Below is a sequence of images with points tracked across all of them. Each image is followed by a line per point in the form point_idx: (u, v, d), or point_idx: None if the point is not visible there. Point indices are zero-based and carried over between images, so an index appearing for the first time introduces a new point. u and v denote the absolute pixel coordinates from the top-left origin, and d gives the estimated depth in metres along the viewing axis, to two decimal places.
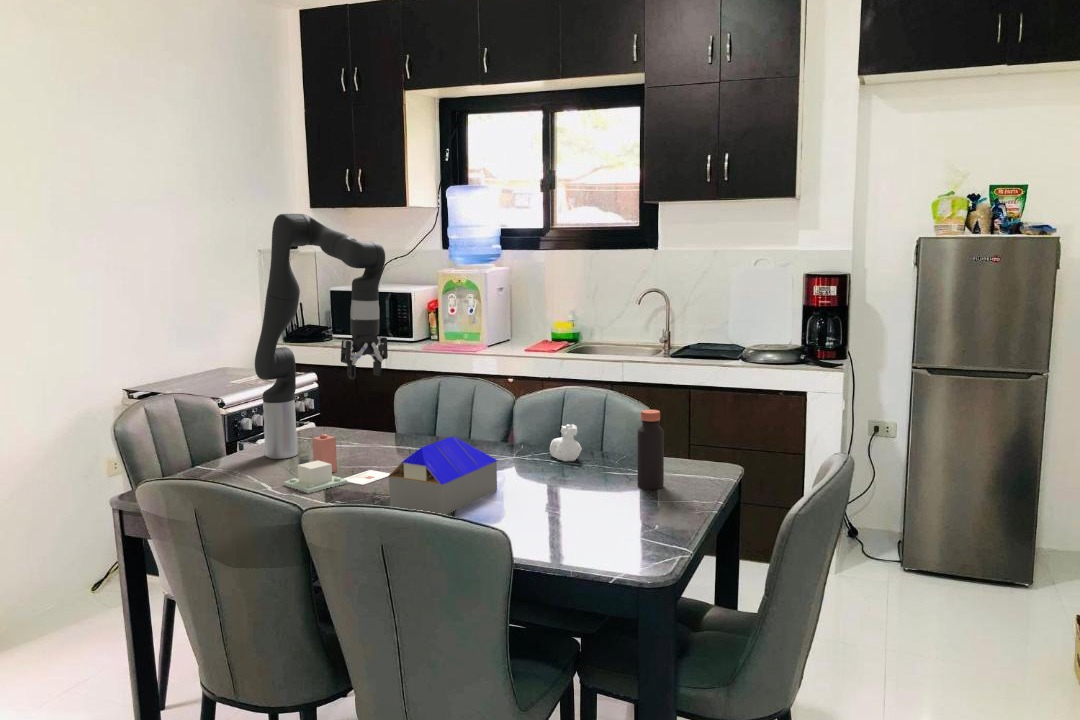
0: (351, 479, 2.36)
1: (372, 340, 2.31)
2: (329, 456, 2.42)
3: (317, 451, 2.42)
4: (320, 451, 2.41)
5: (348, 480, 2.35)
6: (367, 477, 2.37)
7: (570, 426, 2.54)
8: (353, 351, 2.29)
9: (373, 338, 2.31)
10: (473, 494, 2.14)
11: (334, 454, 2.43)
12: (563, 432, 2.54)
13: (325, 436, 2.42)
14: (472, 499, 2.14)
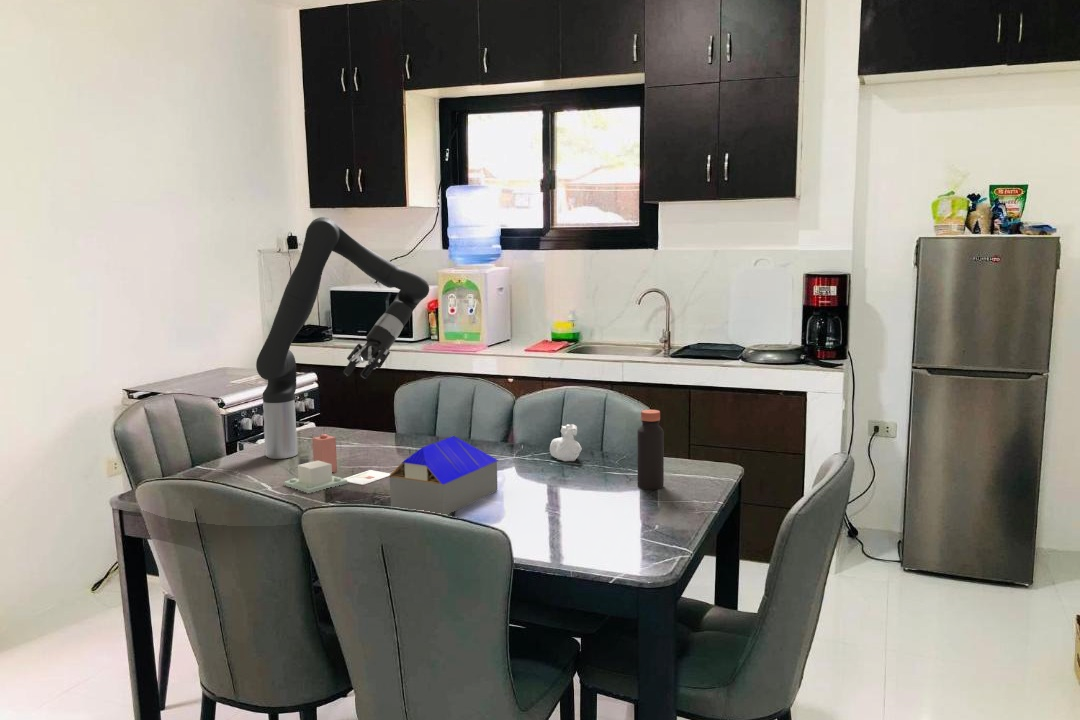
0: (351, 479, 2.36)
1: None
2: (329, 456, 2.42)
3: (317, 451, 2.42)
4: (320, 451, 2.41)
5: (348, 480, 2.35)
6: (367, 477, 2.37)
7: (570, 426, 2.54)
8: None
9: None
10: (474, 494, 2.14)
11: (334, 454, 2.43)
12: (563, 432, 2.54)
13: (325, 436, 2.42)
14: (473, 499, 2.14)
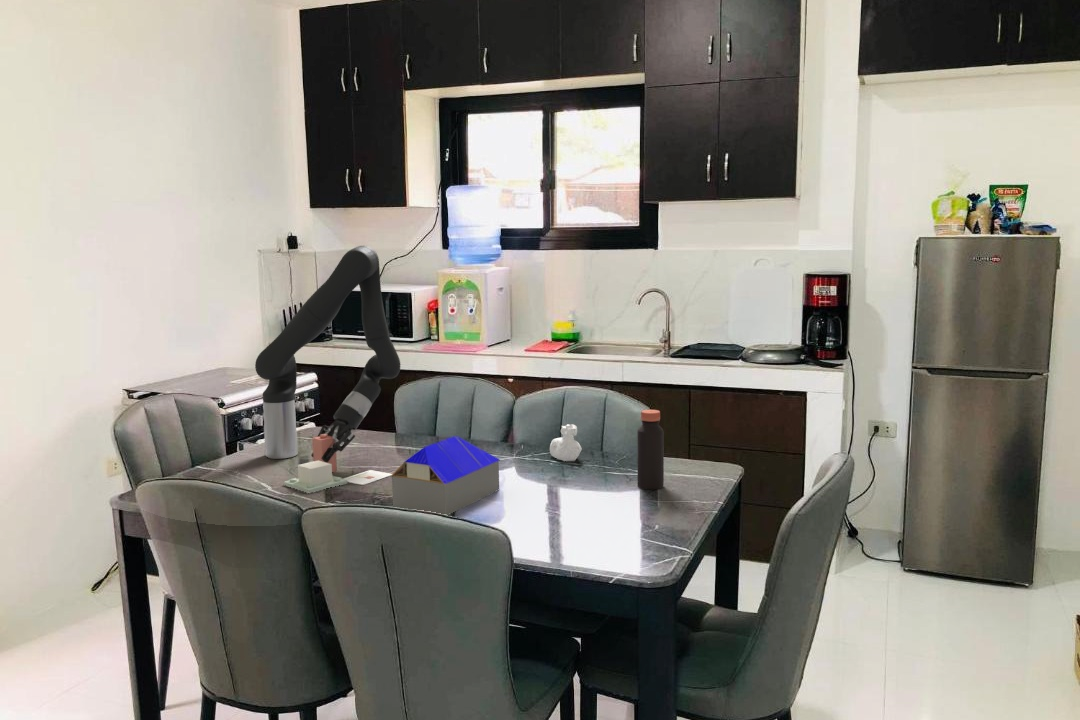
0: (351, 479, 2.36)
1: None
2: None
3: (317, 451, 2.42)
4: (320, 451, 2.41)
5: (348, 480, 2.35)
6: (367, 477, 2.37)
7: (570, 426, 2.54)
8: None
9: None
10: (476, 493, 2.14)
11: (334, 454, 2.43)
12: (563, 432, 2.54)
13: (325, 436, 2.42)
14: (475, 498, 2.14)
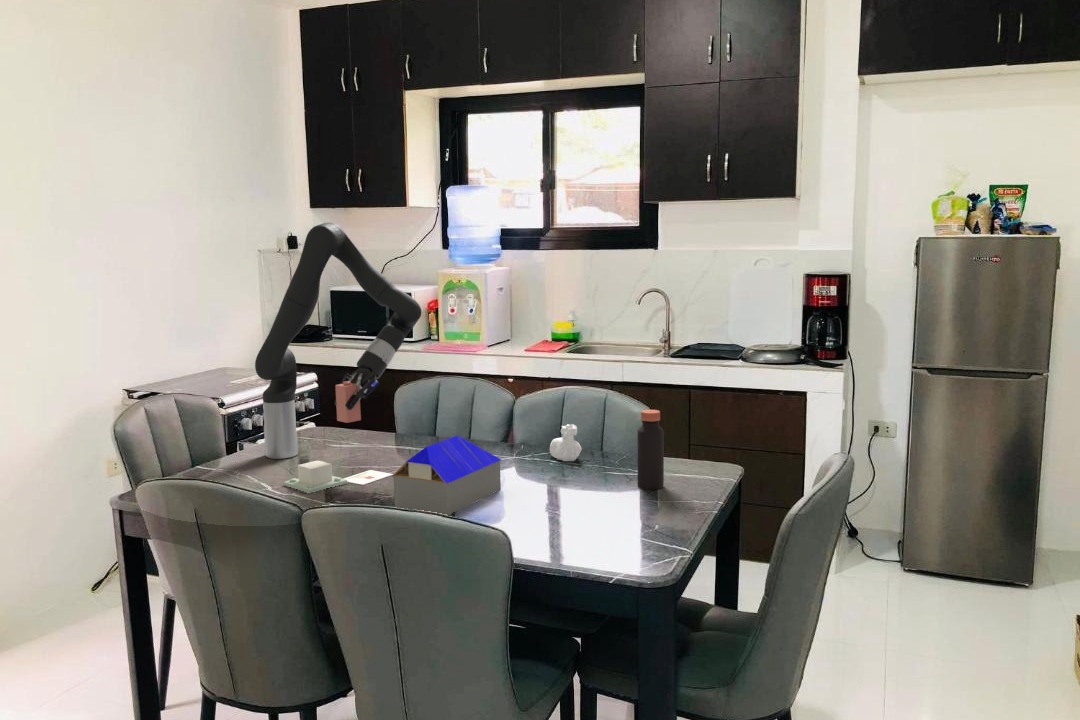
0: (351, 479, 2.36)
1: None
2: None
3: (340, 399, 2.35)
4: (343, 398, 2.34)
5: (348, 480, 2.35)
6: (367, 477, 2.37)
7: (570, 426, 2.54)
8: None
9: None
10: (477, 493, 2.15)
11: (358, 402, 2.37)
12: (563, 432, 2.54)
13: (348, 383, 2.36)
14: (476, 498, 2.14)
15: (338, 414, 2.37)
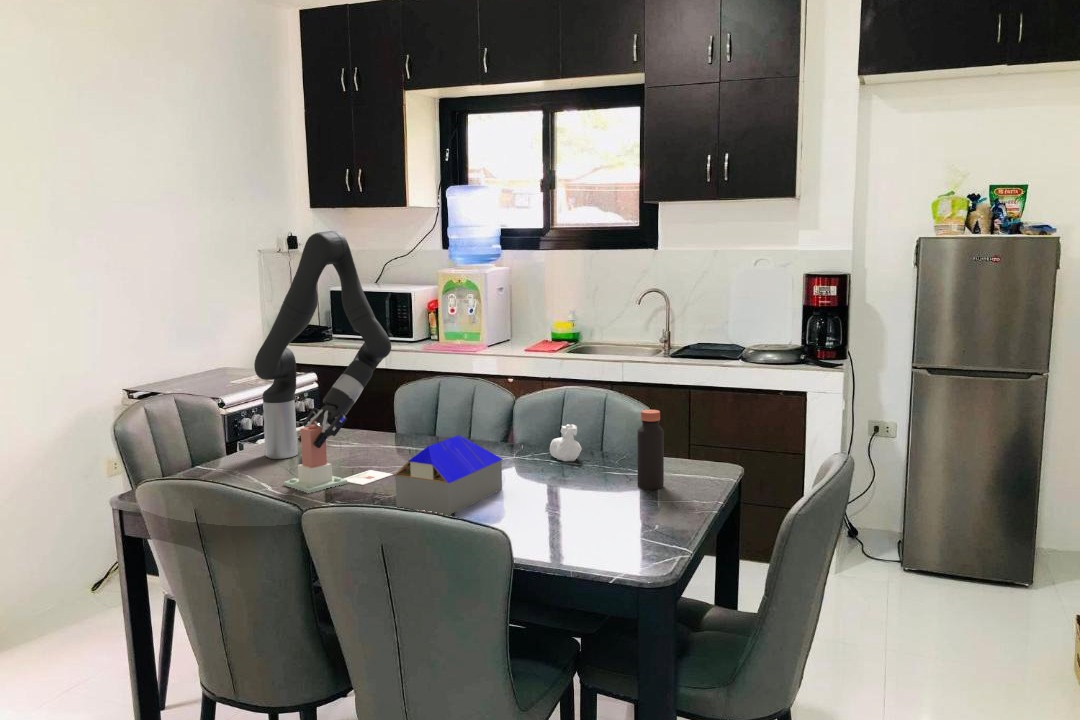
0: (351, 479, 2.36)
1: None
2: (319, 448, 2.29)
3: (306, 443, 2.29)
4: (309, 442, 2.27)
5: (348, 480, 2.35)
6: (367, 477, 2.37)
7: (570, 426, 2.54)
8: None
9: None
10: (479, 493, 2.15)
11: (324, 445, 2.30)
12: (563, 432, 2.54)
13: (314, 426, 2.29)
14: (478, 497, 2.15)
15: (303, 458, 2.30)
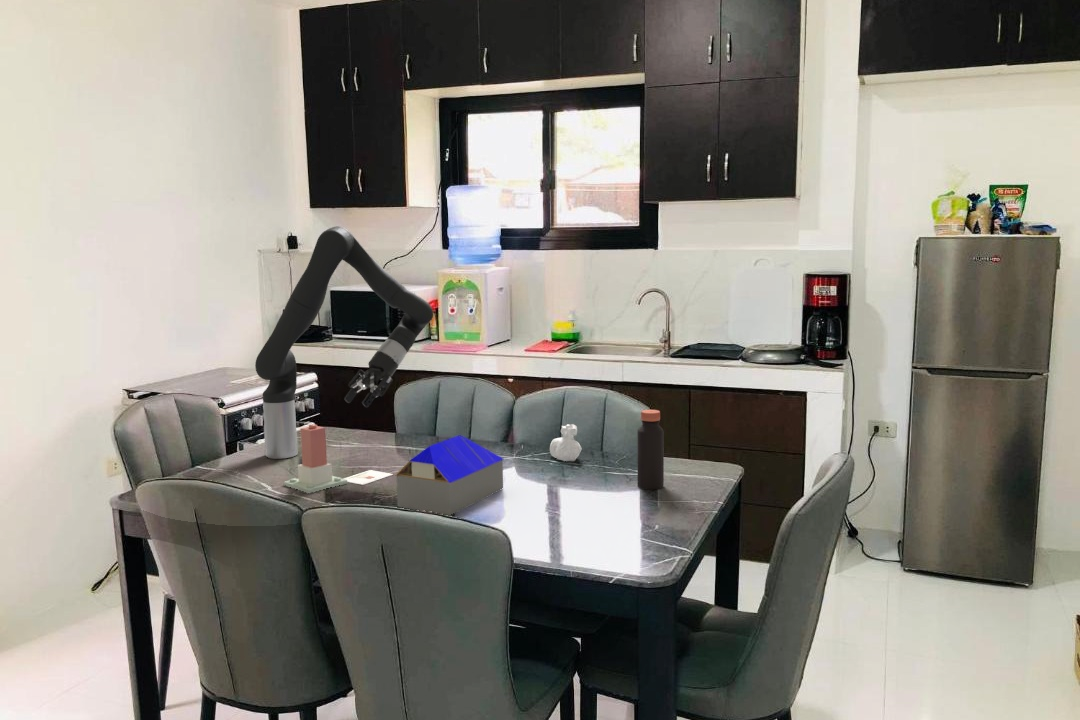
0: (351, 479, 2.36)
1: None
2: (319, 448, 2.29)
3: (306, 443, 2.29)
4: (309, 442, 2.27)
5: (348, 480, 2.35)
6: (367, 477, 2.37)
7: (570, 426, 2.54)
8: None
9: None
10: (480, 492, 2.15)
11: (324, 445, 2.30)
12: (563, 432, 2.54)
13: (314, 426, 2.29)
14: (479, 497, 2.15)
15: (303, 458, 2.30)
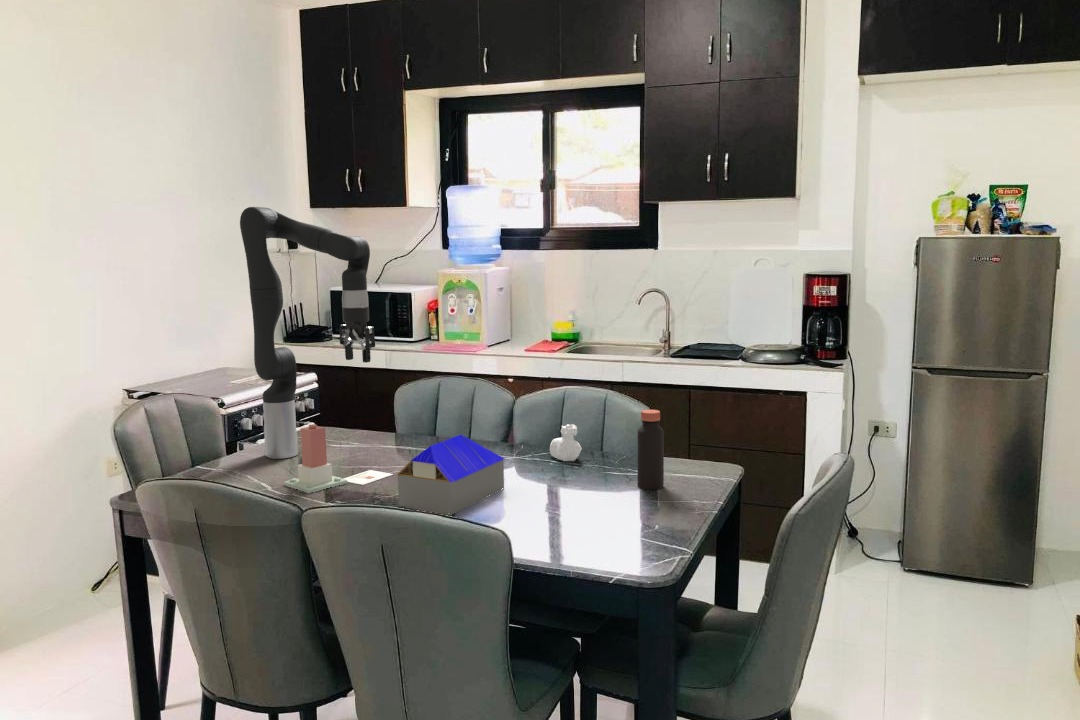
0: (351, 479, 2.36)
1: None
2: (319, 448, 2.29)
3: (306, 443, 2.29)
4: (309, 442, 2.27)
5: (348, 480, 2.35)
6: (367, 477, 2.37)
7: (570, 426, 2.54)
8: None
9: None
10: (481, 492, 2.15)
11: (324, 445, 2.30)
12: (563, 432, 2.54)
13: (314, 426, 2.29)
14: (480, 497, 2.15)
15: (303, 458, 2.30)
